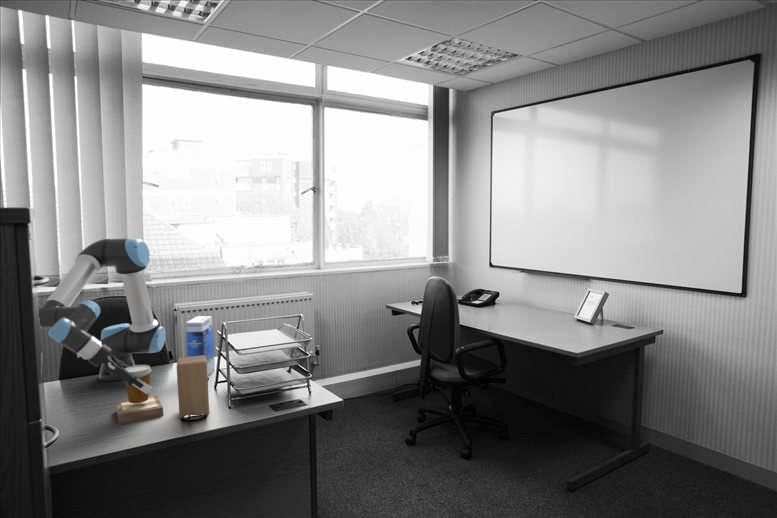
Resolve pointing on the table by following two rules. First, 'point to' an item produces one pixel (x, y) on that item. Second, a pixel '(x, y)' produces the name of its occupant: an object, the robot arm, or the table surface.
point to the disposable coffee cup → (142, 374)
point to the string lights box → (201, 339)
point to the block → (192, 385)
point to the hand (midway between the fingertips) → (147, 387)
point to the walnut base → (139, 410)
